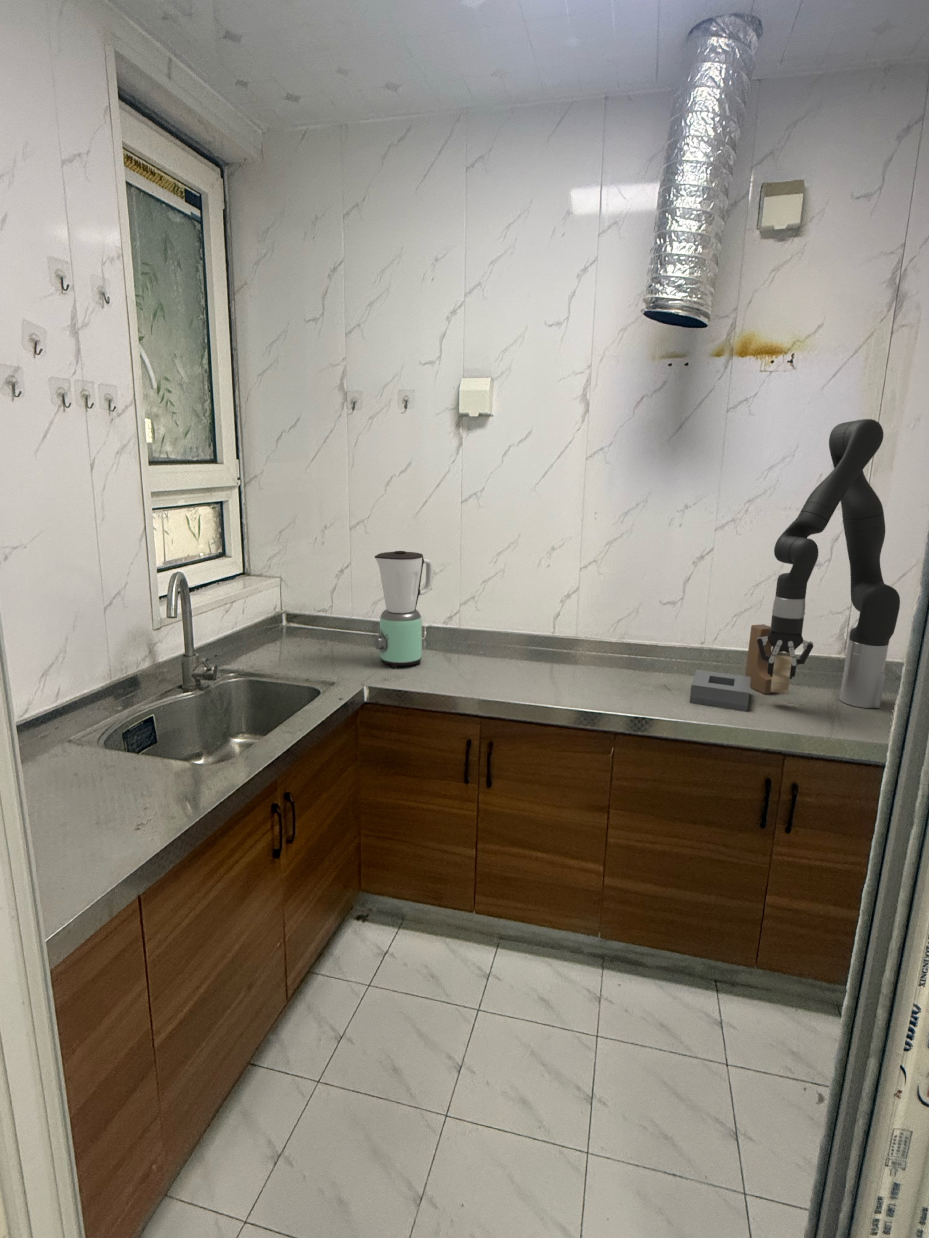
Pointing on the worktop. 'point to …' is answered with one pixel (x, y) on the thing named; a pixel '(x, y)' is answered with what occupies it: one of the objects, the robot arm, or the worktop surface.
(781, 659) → the beech peg
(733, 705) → the socket stand
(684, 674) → the worktop surface
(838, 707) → the worktop surface
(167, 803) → the worktop surface
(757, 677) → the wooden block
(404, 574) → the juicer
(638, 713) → the worktop surface
